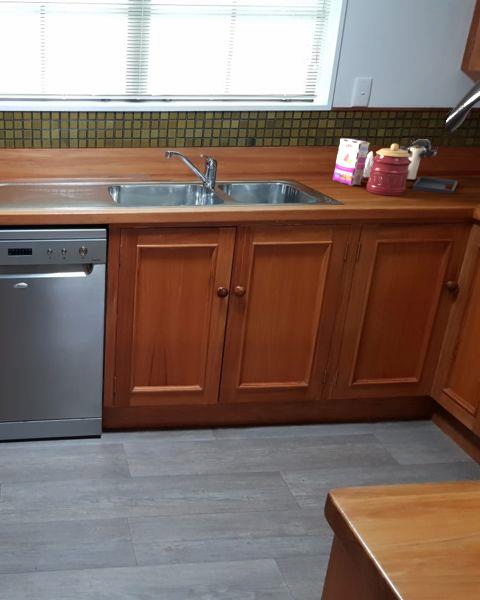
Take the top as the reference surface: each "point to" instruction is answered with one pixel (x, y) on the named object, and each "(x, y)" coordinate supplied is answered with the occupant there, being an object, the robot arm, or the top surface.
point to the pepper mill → (414, 161)
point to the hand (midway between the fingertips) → (414, 154)
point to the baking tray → (433, 185)
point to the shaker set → (368, 165)
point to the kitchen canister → (389, 171)
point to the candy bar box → (351, 161)
